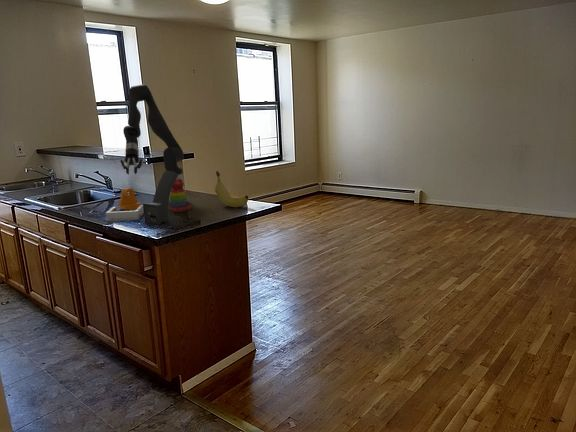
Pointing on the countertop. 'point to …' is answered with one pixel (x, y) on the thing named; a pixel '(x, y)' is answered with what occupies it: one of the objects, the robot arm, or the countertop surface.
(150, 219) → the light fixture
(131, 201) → the orange tapered block
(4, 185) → the countertop surface
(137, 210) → the bracket
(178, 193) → the stacking bear
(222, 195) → the banana
